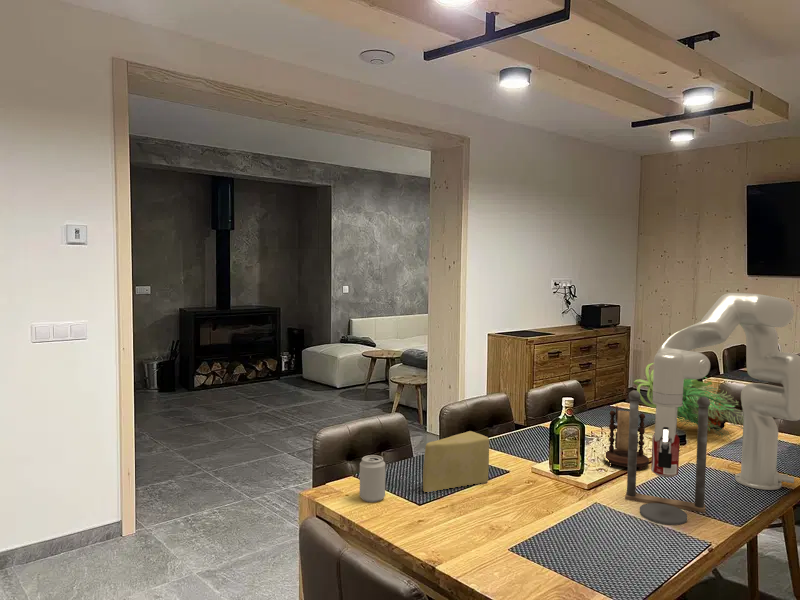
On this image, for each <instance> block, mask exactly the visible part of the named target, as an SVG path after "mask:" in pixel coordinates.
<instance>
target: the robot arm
mask: <svg viewBox="0 0 800 600" xmlns="http://www.w3.org/2000/svg"><path fill="white" fill-rule="evenodd" d="M793 318H794V307H793V305H792V303H791V302H790V301H789V300H788V299H786V298H783V297H778V296H777V297H776V296H771V295H767V294H766V295H765V294H760V293H747V292H746V293H744V292H728V293H725V294H722V295H721V296H720V297H719V298H718V299H717V300H716V301H715V303H713V305H712V306H711V307H710V308H709V309H708V311H707V312H706V313H705V315H703V317H702V318H701V320H700V321H699V322H696V323H694V324H692V325H691V324H690V325H688V326H687V327H685V328H683V329H681V330H678V331H677V332H674V333H673V334H671V335H670V336H669V337H668V338H666V340H665V341H664V342H663V344H662V345H660V347H659V348H658V350H657V352H656V354H655V355H654V357H653V363H654V364H653V369H654V373H653V401H652V403H653V404H656V408H655V411H656V412H655V415H654V417H655V418H654V433H655V438H654V440H655V441H656V442H657V441H659V440H660V452H659V456H658V466H659V467H663V468H671V461H672V453H671V443H673V442H674V439H675V433H676V431H677V426H678V425H677V424H678V420H677V419H678V418H677V410H678V407H681V406H683V382H684V379H697V380H700V379H702V378H703V379H704V377H706V376H707V374H708V375H709V372H710V370H711V362H710V359H709V358H708V356H706V355H705V354H704V353H701V352H699V351H692V350H695V349H702V348H707V347H712V346H713V347H714V346H716V345H720V344H721V345H722V344H723V343H725V342H726V341H727V340H728V338H729V337H730V336H731V335H732V334H733V332H734V331H735V330H736V328H737V327H738V326H740V327H741V328H742V329H743V331H744V334H745V339H746V340H745V341H746V342H745V343H746V346H745V347H746V348H745V349H746V355H745V357H746V362H745V364H746V371H747V375H748V376H749V377H751V378H752V379H756V380H759V381H764V382H770V383H775V384H781V385H782V386H779V385H773V384H767V383H761V382H751V383H748V384H746V385H745V386H743V388H742V390H741V392H740V402H741V405H742V406H741V409H742V410H741V411H742V416H743V417H742V419H743V422H742V423H743V424H742V427H743V429H742V443H741V461H740V462H741V464H740V466H741V467H740V472H739V473H736V474H735V476H734V479H735V481H736V482H737V483H739V484H740V485H742V486H746V487H748V488H752V489H757V490H764V491H774V490H780V489H781V488H782V485H783V484H782V482H784V483H789V484H794V483H795V477H794V476H789V474H785V473H784V474H783V473H780V472H778V470H777V465H778V464H777V463H778V458H777V457H778V445H779V444H778V443H779V440H778V439H779V428H778V425H777V423H776V420H775V418H776V419H780V420H787V421H793V422H796V421H800V354H799V355H798V354H797V353H791V352H784V351H780V350H779V335H778V332H777V329H776V328H785V327H786V326H788V325H789V324H790V323H791V322H792V321H793ZM652 403H651V404H652ZM663 428H664V430H663ZM668 430H669V434H668ZM662 439H663V441H662ZM668 439H670V442H669V441H668ZM671 439H672V440H671ZM662 444H663V445H662ZM668 444H669V445H668Z"/></svg>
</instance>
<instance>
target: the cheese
mask: <svg viewBox="0 0 800 600" xmlns="http://www.w3.org/2000/svg"><path fill="white" fill-rule="evenodd" d="M423 459H424V460H423V466H422V467H423V468H422V470H423V471H422V476H423V477H422V490H423V491H424V493H425V492H431V491H437V490H443V489H448V490H450V489H449V488H453V489H456V488H455V487H458V488H462V487H461V486H463V487H467V485H469V486H474V485H473V484H475V485H478V484H479V485H481V484H487V483H488V482H489V471H490V470H489V467H490V439H489V437H488V436H485V435H483V434H481V433H478V432H475V431H472V430H469V431H466V432H463V433H462V432H461V433H457V434H455V435H451V436H449V437H448V436H447V437H445V438H444V437H443V438H441V439H438V440H432V441H429V442H427V443H426V444H425V449H424V458H423ZM480 483H481V484H480ZM443 491H444V490H443Z"/></svg>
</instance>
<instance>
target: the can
mask: <svg viewBox="0 0 800 600" xmlns="http://www.w3.org/2000/svg"><path fill="white" fill-rule="evenodd" d="M359 497H360V498H361V499H362V500H363V501H364V502H367V503H377V501H378V502H380V501H382V500H383V499H384V498H385V497H386V462H385V460H384V458H383V456H380V455H376V454H375V455H374V454H373V455H372V454H370V455H365V456H363V457H362V458H361V461H360V463H359Z"/></svg>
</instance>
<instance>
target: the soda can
mask: <svg viewBox="0 0 800 600" xmlns="http://www.w3.org/2000/svg"><path fill="white" fill-rule="evenodd" d="M663 430H664V428H663ZM668 434H669V430H668ZM654 438H655V432H654V433H653V434H652V439H651V442H652V445H651V447H652V449H651V468H650V469H651V472H652V473H654V475H656V476H658V477H662V478H674V477H676V476H678V475H679V467H680V464H679V463H680V440H681V439H680V437H679V436H678V431H677V430H676V433H675V439H674V442H673V443H671V453H672V461H671V468H663V467H659V466H658V456H659V452H660V440H659V441H657V442H656V441H655V440H654ZM671 440H672V439H671ZM662 441H663V439H662ZM668 441H669V442H670V439H668ZM662 445H663V444H662ZM668 445H669V444H668Z"/></svg>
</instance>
